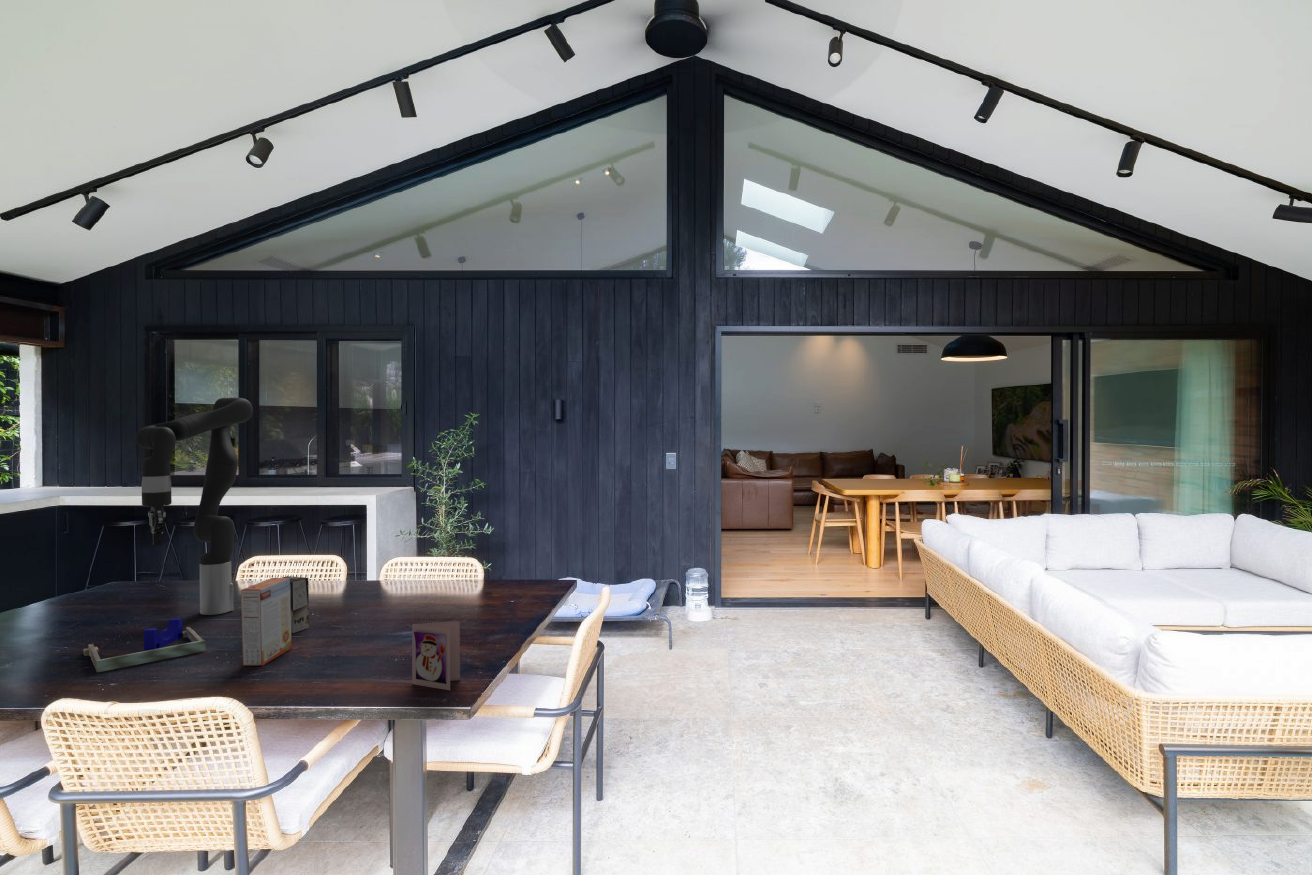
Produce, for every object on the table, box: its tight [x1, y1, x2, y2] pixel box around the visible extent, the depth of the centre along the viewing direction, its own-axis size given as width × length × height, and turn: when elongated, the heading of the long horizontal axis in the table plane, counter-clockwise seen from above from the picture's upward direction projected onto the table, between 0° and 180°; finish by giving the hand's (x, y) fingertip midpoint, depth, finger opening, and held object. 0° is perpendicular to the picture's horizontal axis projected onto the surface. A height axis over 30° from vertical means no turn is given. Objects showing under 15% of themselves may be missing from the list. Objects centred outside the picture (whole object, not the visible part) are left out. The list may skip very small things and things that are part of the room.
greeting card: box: [411, 620, 461, 691], centre depth 169 cm, size 11×7×15 cm, turn 69°
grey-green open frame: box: [82, 626, 206, 673], centre depth 193 cm, size 26×22×3 cm
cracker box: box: [240, 577, 292, 667], centre depth 188 cm, size 14×6×21 cm, turn 178°
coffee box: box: [281, 575, 310, 634], centre depth 214 cm, size 9×6×16 cm
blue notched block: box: [143, 617, 184, 651], centre depth 200 cm, size 12×4×6 cm, turn 2°
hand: (157, 545), depth 212 cm, fingers closed
